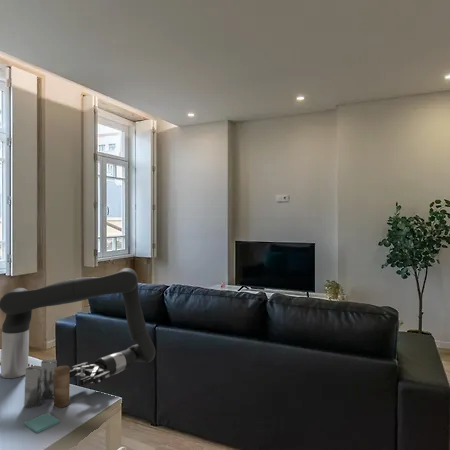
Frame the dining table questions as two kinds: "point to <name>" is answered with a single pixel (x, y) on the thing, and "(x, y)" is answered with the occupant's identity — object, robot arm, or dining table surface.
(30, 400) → the silver tall tapered cylinder
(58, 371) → the cylinder
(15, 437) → the dining table surface
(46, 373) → the shiny grey metal cylinder
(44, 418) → the teal mat
